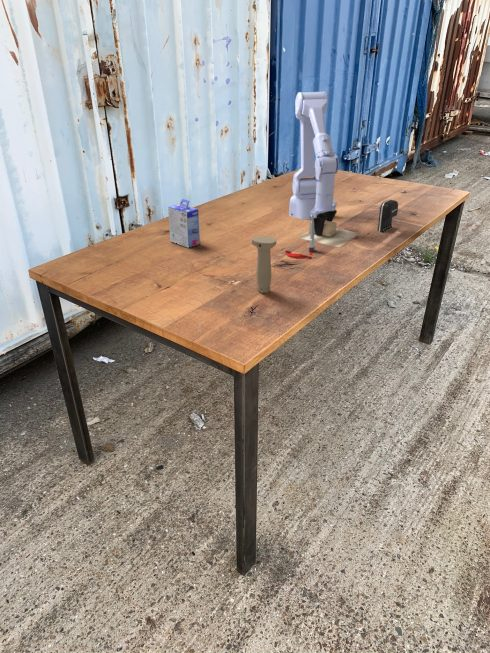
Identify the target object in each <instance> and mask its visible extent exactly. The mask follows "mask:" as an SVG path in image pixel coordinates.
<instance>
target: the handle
mask: <svg viewBox="0 0 490 653" xmlns="http://www.w3.org/2000/svg"><path fill="white" fill-rule="evenodd" d="M251 244H252V245H253V246H255V247H256V249H257V258H256V259H257V262H256V283H257V291H258V292H259V293H261V294H268V293H269V292H270V290H271V282H272V262H271V260H272V258H271V255H272V254H271V249H272V248H274V247H275V246H276V245H277V239H276V238H275V237H272V236H266V235H255V236H254V237H252V238H251Z"/></svg>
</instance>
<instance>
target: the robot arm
mask: <svg viewBox="0 0 490 653" xmlns="http://www.w3.org/2000/svg"><path fill="white" fill-rule="evenodd" d="M294 102H295V103H294V105H295V106H294V110H295V111H294V112H295V118H296V119H297V120H299V123H300V168H299V169H298V171H296V172H294V174H293V176H292V177H293V178H292V193H293V195H292V196H291V197H290V200H289V205H288V206H289V210H288V215H289V217H292V218H295V219H299V220H308V221H309V220H311V215H313V216H314V229H315V234H316V235H320V236H321V235H322V232H323V227H324V223H325V220H326V221H331V222H333V220H334V217H335V216H336V214H337V212H338V210H337V204H338V203H337V202H338V201H334V192H335V178H336V174H337V173H338V171H339V166H340V162H339V157H338V155H337V154H336V152H335V151H334V150H333V149H334V148H333V144H332V140H331V135H329V134H327V131H326V130H327V128H326V120H325V114H326V111H327V108H328V102H329V98H328V94H327V92H326V91H323V90H322V91H310V92H309V91H307V92H306V91H305V92H301V91H298V92H297V94H296V96H295V100H294Z"/></svg>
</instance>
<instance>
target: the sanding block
mask: <svg viewBox="0 0 490 653" xmlns="http://www.w3.org/2000/svg"><path fill="white" fill-rule="evenodd" d="M308 225H309V230H308V231H309V233H310V224H308ZM337 225H338V223H337V222H335V221H332V222H331V221H326V220H325V223H324V227H323V232H322V235H321V236H324V237H328V238H330V237H332V236H333V235H335V234H336V228H338V226H337ZM314 234H315V229H314ZM315 235H316V234H315ZM319 236H320V235H319Z"/></svg>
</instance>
